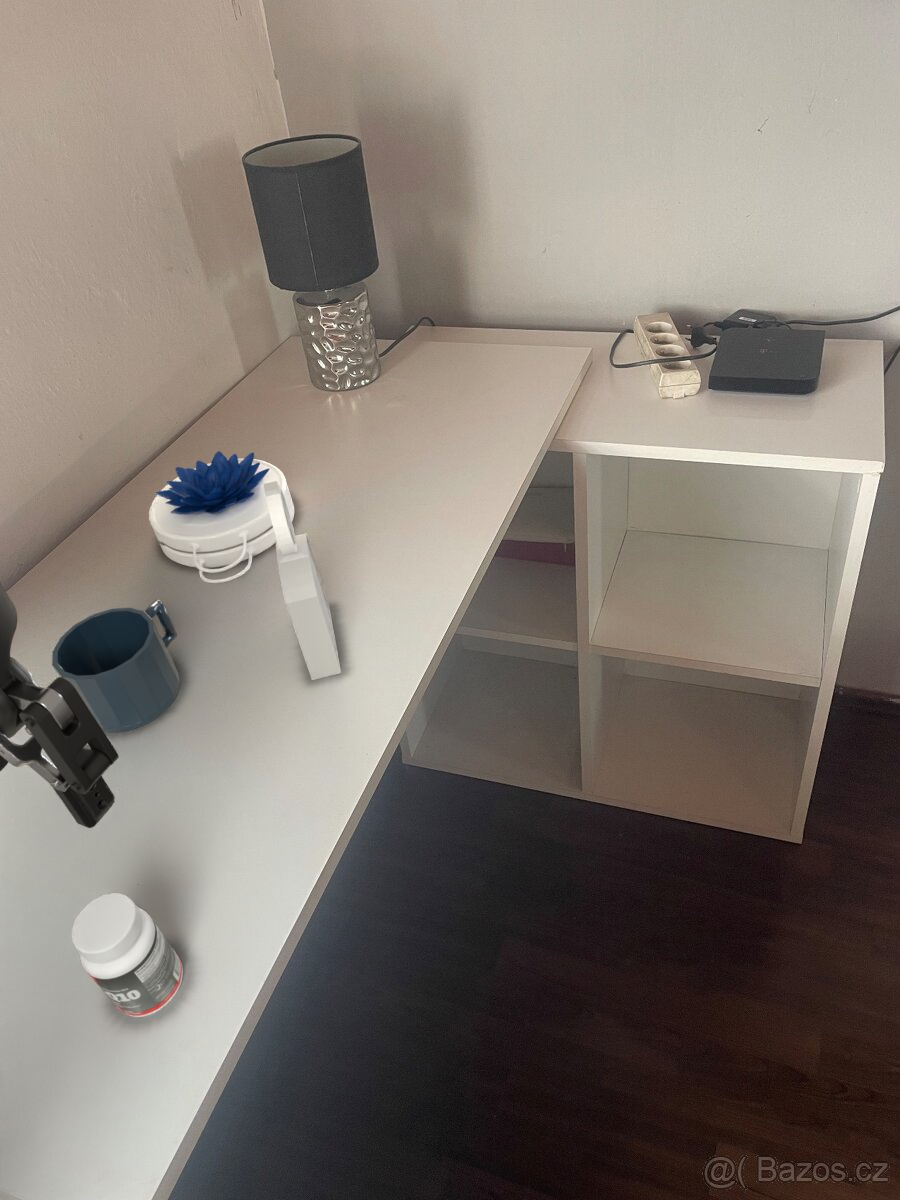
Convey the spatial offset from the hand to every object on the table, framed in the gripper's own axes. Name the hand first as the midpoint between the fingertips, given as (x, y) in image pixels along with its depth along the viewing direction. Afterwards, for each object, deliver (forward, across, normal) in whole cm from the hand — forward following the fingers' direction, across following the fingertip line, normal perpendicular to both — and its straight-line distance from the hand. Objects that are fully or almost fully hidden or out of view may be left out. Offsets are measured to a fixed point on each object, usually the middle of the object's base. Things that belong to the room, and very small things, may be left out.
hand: (45, 792), depth 50 cm
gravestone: (+18, -5, +30) cm, 35 cm away
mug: (+17, -18, +20) cm, 32 cm away
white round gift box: (+17, -24, +42) cm, 52 cm away
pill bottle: (+18, +2, -2) cm, 18 cm away
